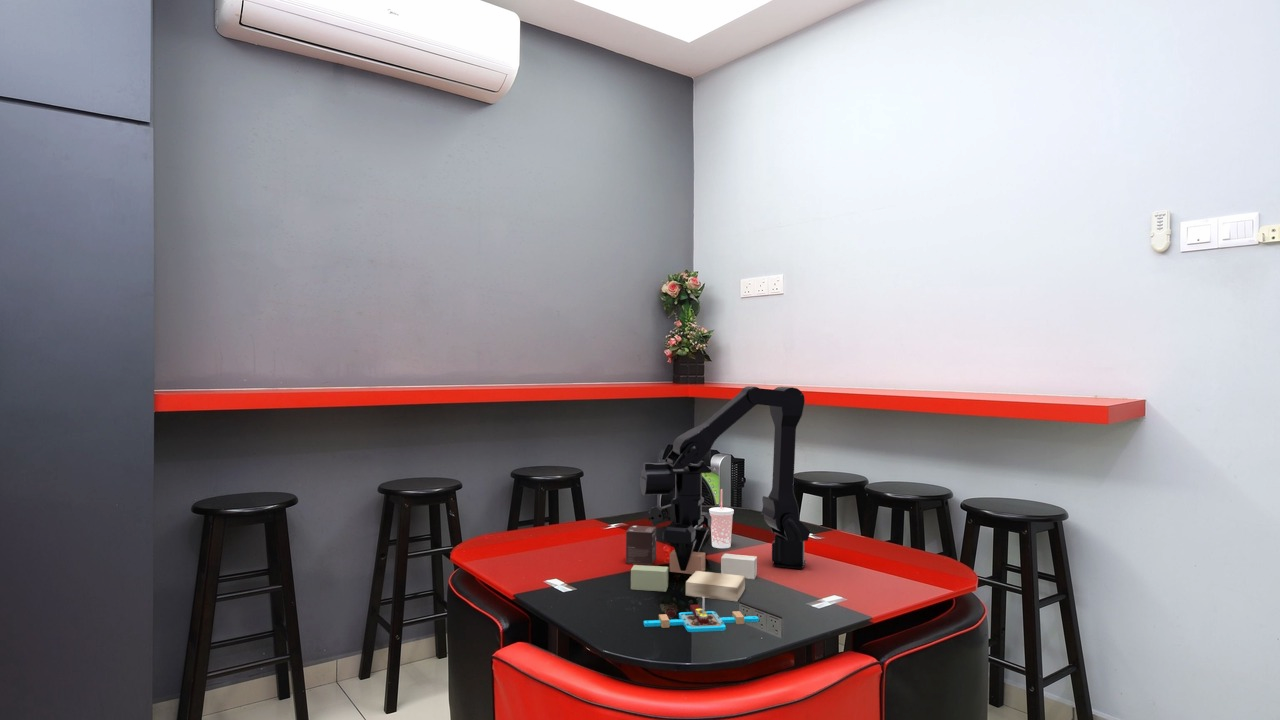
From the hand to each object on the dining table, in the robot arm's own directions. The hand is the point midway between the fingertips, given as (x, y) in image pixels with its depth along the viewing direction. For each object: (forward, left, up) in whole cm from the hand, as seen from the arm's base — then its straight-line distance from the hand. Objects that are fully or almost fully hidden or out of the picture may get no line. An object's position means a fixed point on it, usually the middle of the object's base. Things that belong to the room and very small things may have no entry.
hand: (687, 566), depth 152 cm
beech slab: (-9, +12, -2) cm, 15 cm away
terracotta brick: (0, 0, -1) cm, 1 cm away
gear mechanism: (-10, +29, -2) cm, 31 cm away
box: (+12, -4, -1) cm, 13 cm away
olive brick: (+4, +14, -1) cm, 15 cm away
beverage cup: (-2, -24, -1) cm, 24 cm away
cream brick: (-11, -1, -1) cm, 11 cm away
